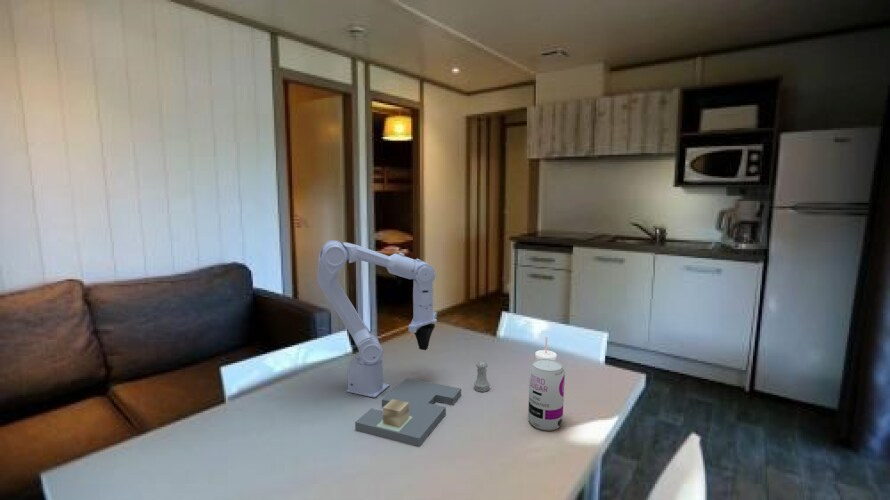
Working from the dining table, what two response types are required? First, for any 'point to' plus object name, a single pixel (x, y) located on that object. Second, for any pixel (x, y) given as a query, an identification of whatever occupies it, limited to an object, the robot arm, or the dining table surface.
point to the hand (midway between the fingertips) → (423, 349)
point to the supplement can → (546, 394)
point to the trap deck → (411, 411)
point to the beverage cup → (545, 354)
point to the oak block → (395, 413)
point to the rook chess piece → (481, 378)
